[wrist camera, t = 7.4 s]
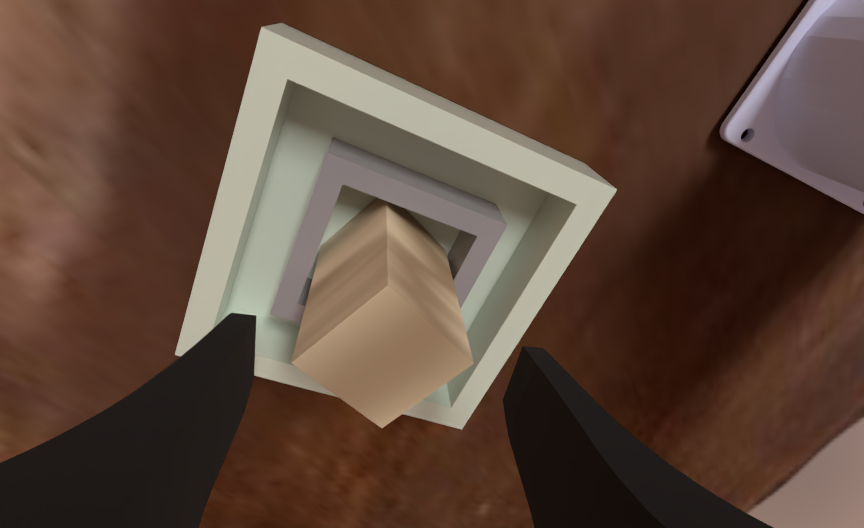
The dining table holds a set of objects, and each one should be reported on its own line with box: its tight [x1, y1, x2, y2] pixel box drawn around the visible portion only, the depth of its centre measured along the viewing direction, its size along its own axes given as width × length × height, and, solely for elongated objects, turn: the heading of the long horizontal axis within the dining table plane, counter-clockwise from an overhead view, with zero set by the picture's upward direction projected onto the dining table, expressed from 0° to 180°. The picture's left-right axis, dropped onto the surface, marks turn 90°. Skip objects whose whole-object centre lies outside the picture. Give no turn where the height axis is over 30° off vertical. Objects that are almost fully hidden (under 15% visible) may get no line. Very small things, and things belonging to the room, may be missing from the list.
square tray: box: [175, 23, 617, 429], centre depth 18 cm, size 12×12×3 cm
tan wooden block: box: [291, 197, 474, 428], centre depth 16 cm, size 4×4×7 cm
